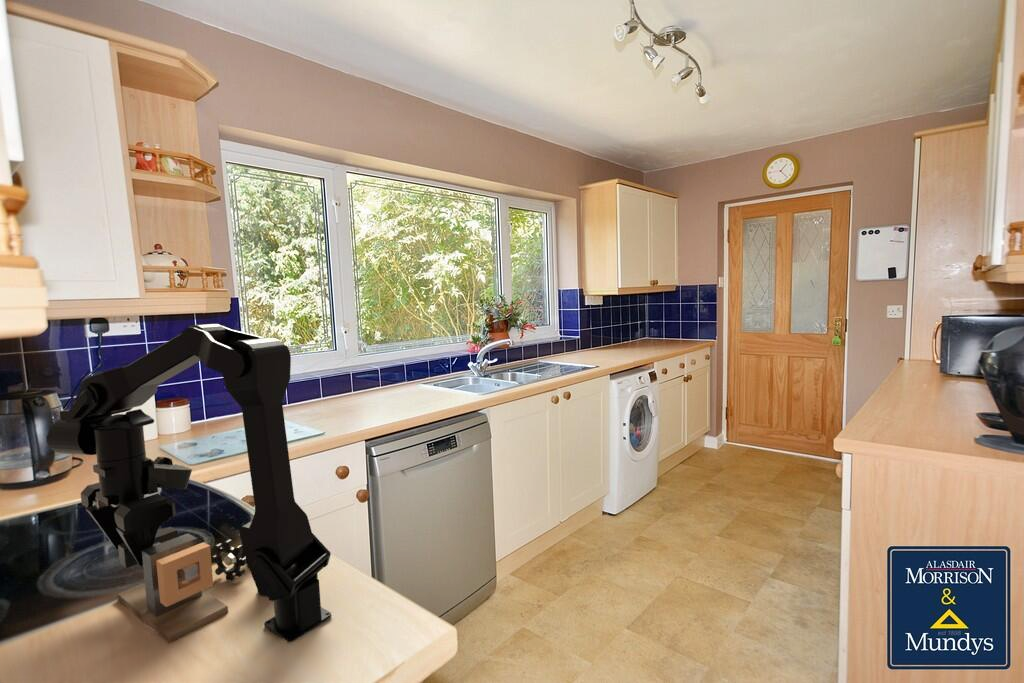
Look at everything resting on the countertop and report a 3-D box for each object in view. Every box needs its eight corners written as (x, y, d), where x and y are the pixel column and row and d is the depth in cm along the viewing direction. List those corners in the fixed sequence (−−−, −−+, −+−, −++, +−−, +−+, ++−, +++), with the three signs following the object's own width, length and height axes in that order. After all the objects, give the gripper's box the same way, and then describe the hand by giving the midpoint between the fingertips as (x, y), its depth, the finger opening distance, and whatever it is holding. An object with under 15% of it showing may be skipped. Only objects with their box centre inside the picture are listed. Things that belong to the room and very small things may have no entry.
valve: (262, 543, 92) (211, 579, 81) (259, 509, 92) (207, 540, 80) (293, 546, 91) (246, 582, 79) (291, 511, 90) (242, 543, 79)
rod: (219, 571, 71) (217, 551, 71) (163, 596, 66) (161, 574, 65) (172, 544, 80) (170, 526, 80) (119, 563, 74) (117, 544, 74)
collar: (213, 585, 72) (210, 545, 71) (166, 607, 67) (162, 564, 66) (206, 581, 73) (203, 542, 72) (160, 602, 68) (156, 560, 67)
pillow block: (202, 595, 74) (197, 538, 73) (156, 617, 69) (150, 556, 68) (193, 589, 76) (188, 533, 75) (147, 610, 71) (141, 550, 70)
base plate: (228, 612, 72) (227, 605, 71) (168, 643, 65) (167, 636, 65) (174, 576, 82) (173, 570, 82) (118, 600, 75) (117, 593, 75)
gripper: (209, 450, 75) (217, 549, 76) (158, 434, 85) (166, 521, 87) (120, 472, 66) (131, 584, 67) (74, 452, 76) (85, 549, 77)
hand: (131, 556), depth 75 cm, fingers open, 9 cm apart
